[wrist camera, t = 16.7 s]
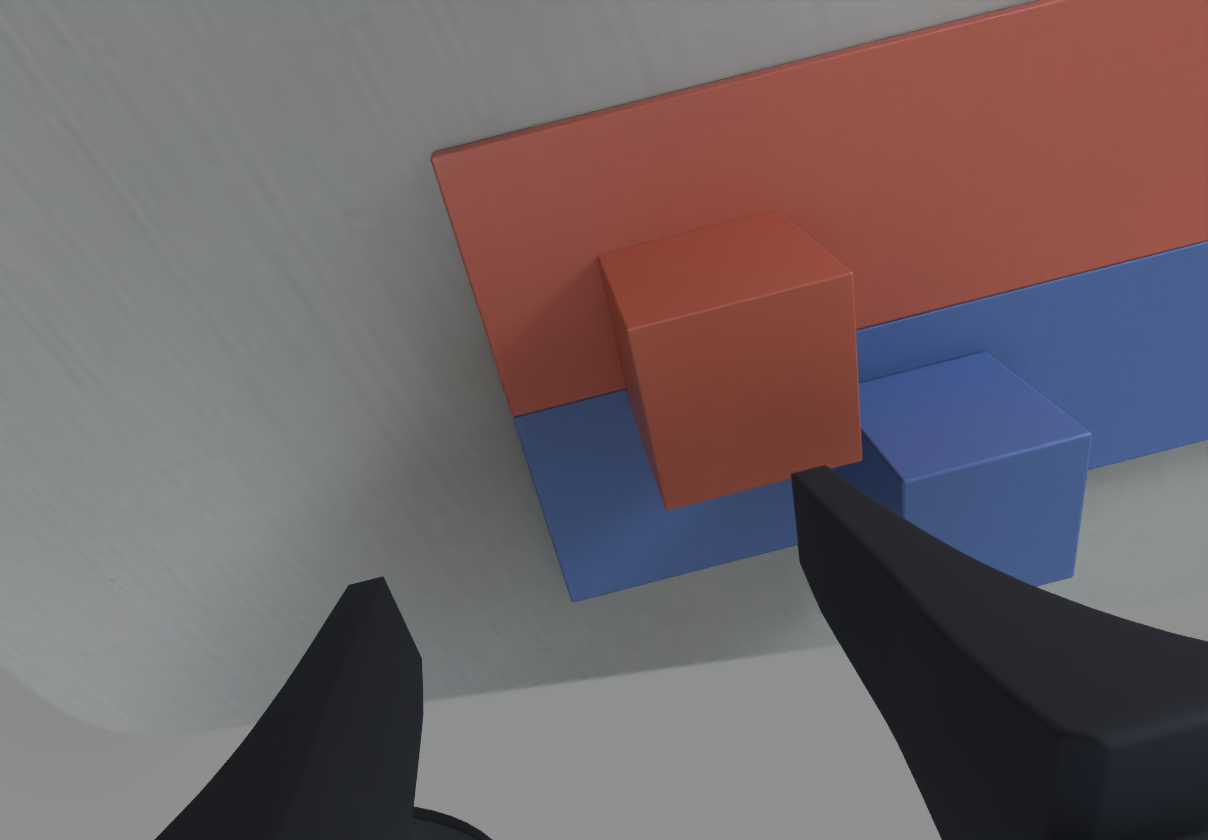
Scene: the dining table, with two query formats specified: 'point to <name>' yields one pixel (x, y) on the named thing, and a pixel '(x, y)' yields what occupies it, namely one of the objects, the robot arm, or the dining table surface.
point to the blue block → (977, 464)
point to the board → (864, 245)
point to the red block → (736, 355)
